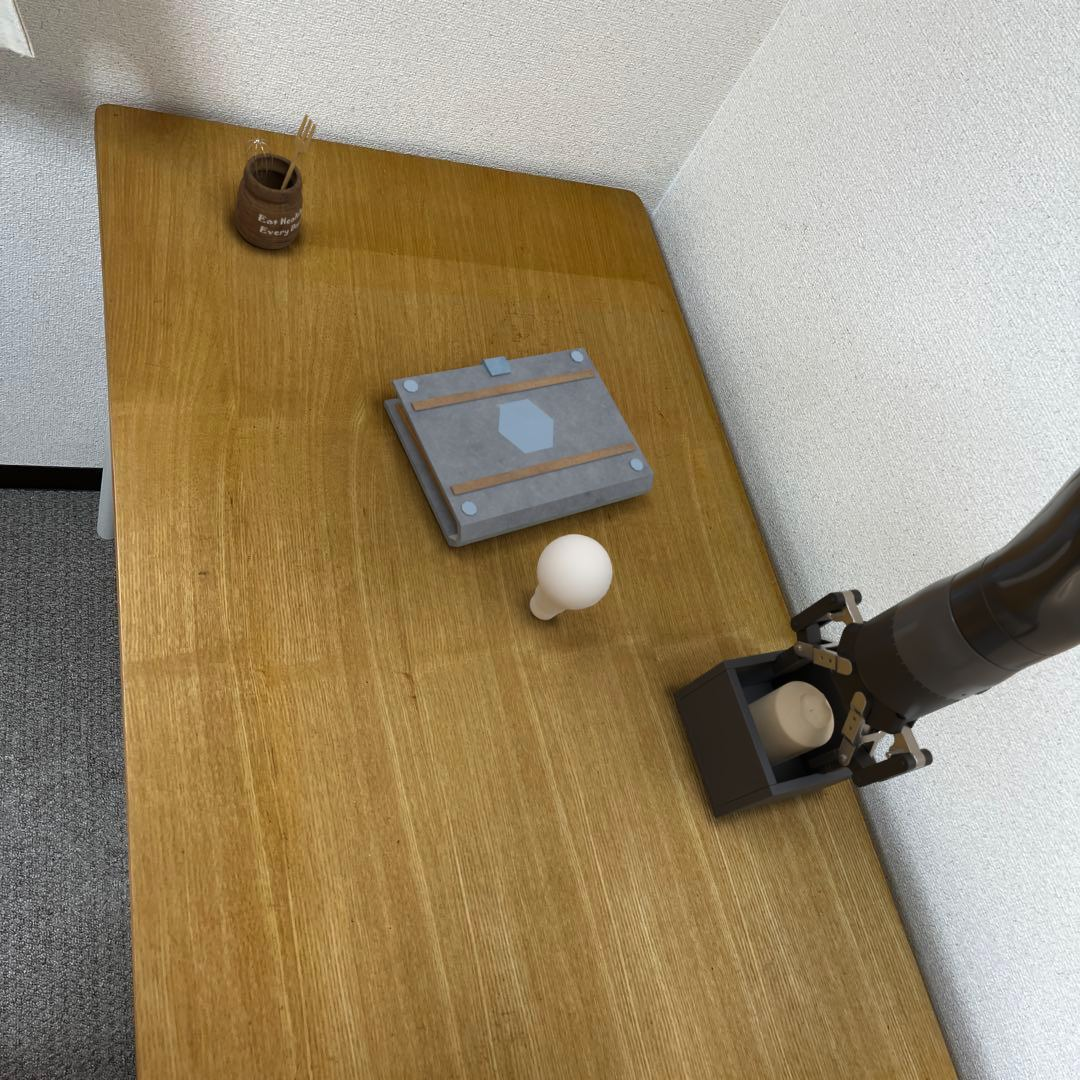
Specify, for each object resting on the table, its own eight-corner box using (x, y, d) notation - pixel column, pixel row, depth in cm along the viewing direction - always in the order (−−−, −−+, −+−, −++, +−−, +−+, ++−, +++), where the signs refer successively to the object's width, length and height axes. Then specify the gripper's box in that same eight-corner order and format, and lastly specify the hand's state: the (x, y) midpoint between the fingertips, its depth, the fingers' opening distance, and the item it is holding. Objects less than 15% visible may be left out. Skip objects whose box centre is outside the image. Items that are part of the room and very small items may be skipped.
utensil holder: (221, 215, 87) (230, 110, 77) (276, 199, 90) (292, 96, 80) (257, 259, 86) (270, 158, 76) (312, 240, 89) (331, 142, 79)
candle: (711, 745, 78) (776, 710, 70) (736, 699, 81) (802, 661, 73) (759, 785, 78) (831, 756, 70) (783, 738, 81) (854, 705, 73)
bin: (815, 791, 81) (879, 767, 74) (715, 818, 76) (773, 795, 69) (770, 674, 85) (826, 641, 78) (673, 693, 80) (723, 660, 73)
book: (451, 556, 78) (468, 530, 74) (380, 403, 83) (392, 370, 79) (638, 502, 89) (662, 476, 85) (566, 369, 94) (585, 338, 90)
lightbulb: (541, 567, 81) (590, 508, 72) (585, 619, 80) (639, 566, 71) (493, 600, 78) (537, 543, 69) (537, 655, 77) (588, 605, 68)
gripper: (858, 553, 61) (731, 641, 75) (950, 758, 56) (796, 813, 69) (935, 544, 65) (801, 629, 78) (1030, 737, 59) (867, 793, 73)
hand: (799, 716), depth 74 cm, fingers open, 7 cm apart
